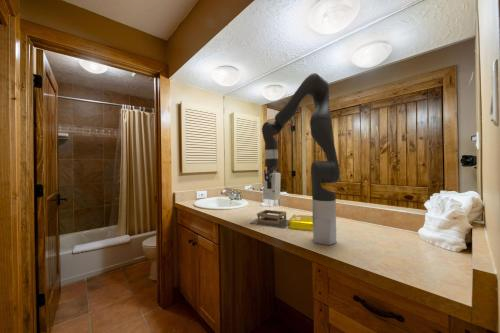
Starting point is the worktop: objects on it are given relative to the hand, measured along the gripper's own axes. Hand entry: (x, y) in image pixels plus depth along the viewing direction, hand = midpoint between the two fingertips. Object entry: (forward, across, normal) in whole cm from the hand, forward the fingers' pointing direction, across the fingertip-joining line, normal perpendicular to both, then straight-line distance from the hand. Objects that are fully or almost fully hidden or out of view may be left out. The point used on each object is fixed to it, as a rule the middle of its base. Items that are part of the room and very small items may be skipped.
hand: (271, 188), depth 116 cm
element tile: (+20, +2, -18) cm, 27 cm away
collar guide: (+19, 0, 0) cm, 19 cm away
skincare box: (+6, 0, 0) cm, 6 cm away
